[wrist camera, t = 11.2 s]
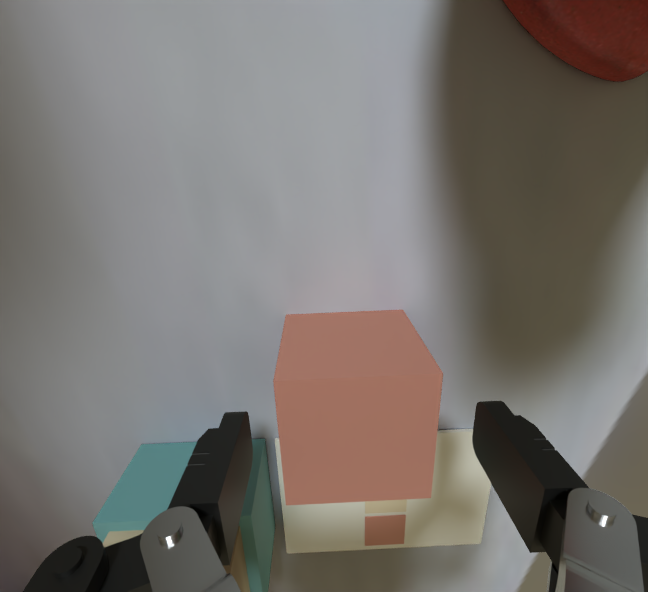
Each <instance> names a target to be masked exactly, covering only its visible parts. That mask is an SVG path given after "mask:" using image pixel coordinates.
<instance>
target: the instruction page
mask: <svg viewBox="0 0 648 592" xmlns="http://www.w3.org/2000/svg"><path fill="white" fill-rule="evenodd" d="M472 435H473V429H456V430H438V431H437V441H436V451H435V462H434V472H433V482H432V493H431V498H423V499H404V500H384V501H364V502H345V503H325V504H305V505H286V501H285V491H284V482H283V472H282V462H281V452H280V442H279V438H275V448H276V457H277V467H278V476H279V486H280V495H281V504H282V514H283V523H284V533H285V542H286V551H287V554H291V553H311V552H330V551H349V550H368V549H388V548H407V547H426V546H445V545H465V544H481V539H482V533H483V528H484V522H485V516H486V511H487V505H488V499H489V493H490V488H491V482H490V480H489V478H488V476H487V475H486V473H485V471H484V469H483V468H482V466H481V464H480V462H479V460H478V459H477V457H476V455H475V452H474V449H473V443H472Z"/></svg>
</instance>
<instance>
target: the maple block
mask: <svg viewBox="0 0 648 592" xmlns="http://www.w3.org/2000/svg"><path fill="white" fill-rule="evenodd" d="M143 531H144V530H132V531H110V532H109V533H108V534H107V536H106V538H105V540H104V542H103V546H104V547H107V546H110V545H113V544H115V543H118V542H121V541H124V540H127V539H130V538H133V537H135V536H138V535H140V534H142V533H143ZM223 567H224V569H225V571H226V573H227V574H229V573H230V574H231V575H232V576H233V577H234V579H235V581H236V583H237V584H238V586H239V588H240V590H241V592H250V587H249V580H248V574H247V568H246V561H245V555H244V548H243V542H242V536H241V529H240V526H238V531H237V535H236V540H235V544H234V549H233V553H232V558H231V562H230V565H227V566H223Z"/></svg>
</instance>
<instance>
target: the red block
mask: <svg viewBox="0 0 648 592" xmlns="http://www.w3.org/2000/svg"><path fill="white" fill-rule="evenodd" d="M442 379H443V373H442V371H441V369H440V368H439V366H438V365H437V363H436V361H435V360H434V358H433V357H432V355H431V353H430V352H429V350H428V349H427V347H426V346H425V344H424V342H423V341H422V339H421V338H420V336H419V334H418V333H417V331H416V330H415V328H414V326H413V325H412V323H411V322H410V320H409V318H408V317H407V315H406V314H405V312H404V311H403V310H383V311H360V312H337V313H314V314H290V315H286V317H285V323H284V328H283V333H282V339H281V344H280V349H279V354H278V360H277V365H276V370H275V375H274V381H273V382H274V392H275V402H276V412H277V422H278V432H279V442H280V452H281V462H282V472H283V482H284V491H285V501H286V505H305V504H325V503H345V502H364V501H384V500H404V499H423V498H431V493H432V482H433V472H434V462H435V451H436V441H437V431H438V420H439V410H440V400H441V390H442Z"/></svg>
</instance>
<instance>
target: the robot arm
mask: <svg viewBox="0 0 648 592" xmlns="http://www.w3.org/2000/svg"><path fill="white" fill-rule="evenodd" d="M472 443H473V449H474V452H475V455H476V457H477V459H478V460H479V462H480V464H481V466H482V468H483V469H484V471H485V473H486V475H487V476H488V478H489V480H490V482H491V484H492V485H493V487H494V489H495V491H496V492H497V494H498V496H499V498H500V500H501V501H502V503H503V505H504V507H505V508H506V510H507V512H508V514H509V516H510V517H511V519H512V521H513V523H514V524H515V526H516V528H517V530H518V532H519V533H520V535H521V537H522V539H523V540H524V542H525V544H526V546H527V548H528V549H529V551H530V553H531V552H546V553H547V554H548V556H549V557H550V559H551V564H550V568H549V576H548V585H547V592H648V518H645V517H640V516H636V515H632V514H631V513H630V512H629V511H628V509H627V508H626V507H624V506H623V505H622V504H621V503H620V502H618V501H617V500H615V499H614V498H612V497H610V496H609V495H607V494H605V493H603V492H600V491H597V490H594V489H590V488H589V487H588V486H587V485H586V484H585V483H584V481H583V480H582V479H581V478H580V477H579V476H578V474H577V473H576V472H575V471H574V470H573V469H572V467H571V466H570V465H569V464H568V463H567V462H566V461H565V459H564V458H563V457H562V456H561V455H560V454H559V452H558V451H557V450H555V449H554V447H553V446H552V444H551V443H550V442H549V441H548V440H546V437H545V436H544V435H543V434H542V433H541V432H540V431H539V429H538V428H537V427H536V426H535V425H534V424H532V423H531V422H529V421H528V420H526V419H525V418H523V417H522V416H520V415H518V416H514V414H513V413H512V412H511V411H510V409H509V408H508V407H507V406H506V405H505V403H504V402H502V401H486V402H478V403H477V406H476V412H475V420H474V428H473V435H472ZM252 461H253V445H252V438H251V430H250V423H249V416H248V413H247V412H226V413H225V414H224V416H223V418H222V421H221V423H220V426H219V428H213V429H208V430H207V431H206V432H205V433H204V434H203V435H202V436H201V437H200V438H199V439H198V441H197V443H196V446H195V448H194V450H193V452H192V455H191V457H190V459H189V461H188V465H187V466H186V468H185V470H184V473H183V475H182V477H181V479H180V482H179V484H178V486H177V488H176V491H175V493H174V495H173V497H172V500H171V502H170V504H169V506H168V508H167V510H166V511H164V512H162V513H160V514H159V515H157V516H156V517H155V518H154V519H153V520H152V521H151V522H150V523H149V524H148V525H147V526H146V528H145V530H144V531H143V533H142V534H140V535H138V536H135V537H133V538H130V539H127V540H124V541H121V542H118V543H115V544H113V545H110V546H107V547H104V546H103V543H102V542H101V540H100V539H99V538H97V537H94V536H83V537H79V538H76V539H73V540H71V541H69V542H67V543H65V544H63V545H62V546H60V547H59V548H57V549H56V550H55V551H54V552H52V553H51V554H50V555H49V556H48V557H47V558H46V559H45V560H44V561H43V562H42V564H41V565H40V566H39V568H38V569H37V571H36V572H35V574H34V575H33V577H32V578H31V580H30V582H29V583H28V585H27V586H26V588H25V589H24V591H23V592H241V590H240V588H239V586H238V584H237V583H236V581H235V579H234V577H233V576H232V575H231V574H230V573H229V574H227V573H226V571H225V569H224V567H223V566H227V565H230V562H231V558H232V553H233V549H234V544H235V540H236V535H237V531H238V526H239V522H240V517H241V513H242V508H243V504H244V499H245V495H246V490H247V486H248V481H249V476H250V472H251V467H252Z"/></svg>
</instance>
